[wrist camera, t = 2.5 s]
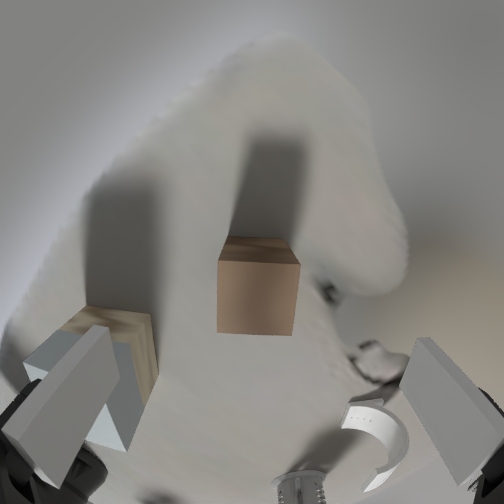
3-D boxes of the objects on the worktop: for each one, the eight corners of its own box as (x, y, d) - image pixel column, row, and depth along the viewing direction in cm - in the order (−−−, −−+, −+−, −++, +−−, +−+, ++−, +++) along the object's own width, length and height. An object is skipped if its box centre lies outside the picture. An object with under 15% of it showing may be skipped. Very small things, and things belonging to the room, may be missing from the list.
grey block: (78, 392, 22) (54, 427, 16) (58, 329, 20) (22, 362, 14) (144, 408, 22) (126, 452, 17) (129, 343, 20) (100, 388, 15)
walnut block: (225, 289, 26) (216, 332, 18) (227, 235, 24) (217, 260, 17) (279, 291, 26) (291, 335, 18) (284, 238, 25) (300, 264, 17)
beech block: (99, 363, 28) (78, 392, 22) (86, 305, 26) (57, 329, 20) (158, 374, 28) (144, 409, 22) (150, 313, 26) (129, 344, 20)
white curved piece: (348, 402, 30) (377, 474, 18) (388, 396, 30) (424, 460, 18) (339, 424, 31) (362, 492, 19) (377, 419, 31) (406, 480, 19)
